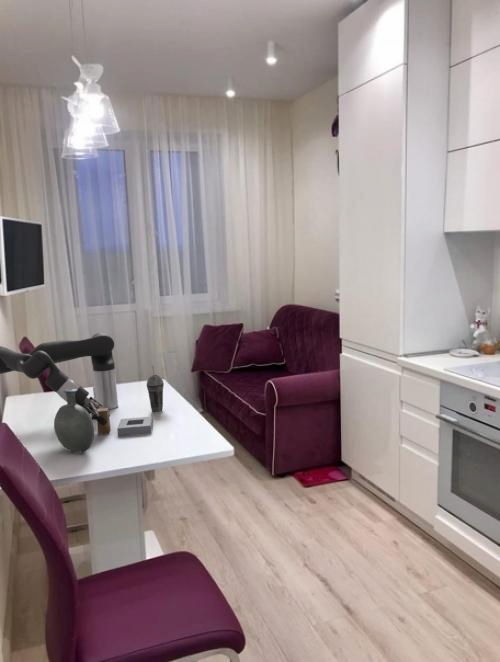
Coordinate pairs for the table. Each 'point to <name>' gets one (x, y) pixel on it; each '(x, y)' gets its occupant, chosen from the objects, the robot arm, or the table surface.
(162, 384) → the beverage cup
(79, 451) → the flask
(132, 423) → the socket
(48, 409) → the table surface
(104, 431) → the peg
